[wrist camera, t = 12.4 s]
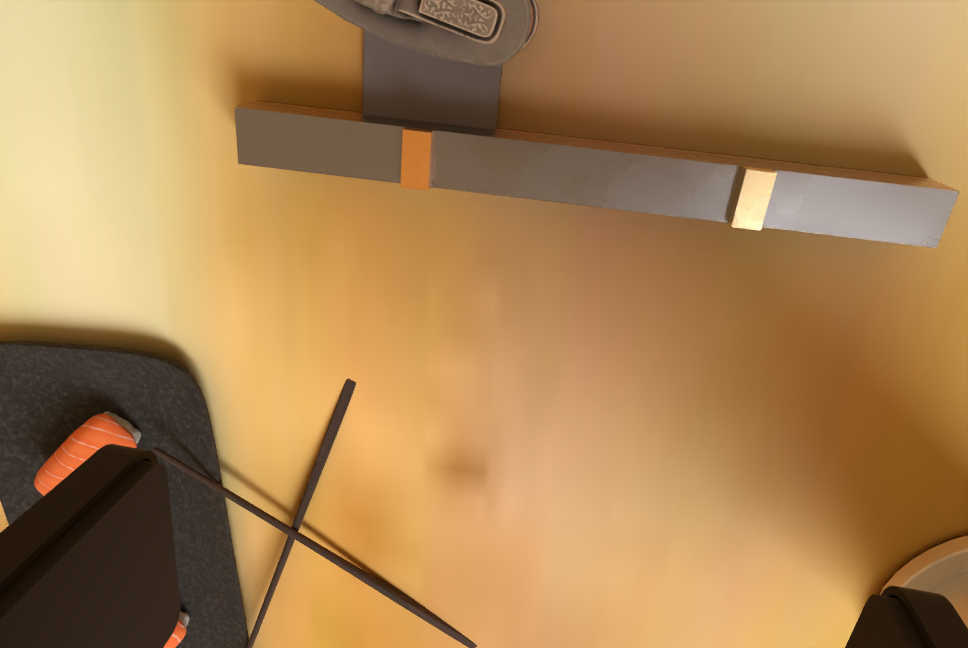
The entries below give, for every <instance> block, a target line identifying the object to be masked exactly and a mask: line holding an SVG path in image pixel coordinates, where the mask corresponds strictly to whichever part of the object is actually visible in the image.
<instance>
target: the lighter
mask: <svg viewBox="0 0 968 648" xmlns="http://www.w3.org/2000/svg"><path fill="white" fill-rule="evenodd" d="M314 1H316V2H317V3H319V4H321V5H322V6H324V7H325V8H327V9H328V10H330V11H332V12H333V13H335V14H336V15H338V16H339V17H341V18H343V19H344V20H346V21H348V22H350V23H352V24H354V25H356V26H358V27H360V28H362V29H364V30H366V31H369V32H371V33H373V34H375V35H377V36H379V37H381V38H383V39H385V40H387V41H389V42H391V43H394V44H397V45H401V46H404V47H407V48H410V49H413V50H417V51H420V52H423V53H426V54H430V55H433V56H436V57H439V58H444V59H450V60H456V61H461V62H467V63H473V64H479V65H484V66H496V65H501V64H503V63H505V62H507V61H509V60H511V59H512V58H513V57H514V56H515V55H516V54H517V53H518V52H519V51H520V50H522V49H523V48H524V47H525V46H526V45H527V44H528V43H529V42H530V41H531V39H532V37H533V35H534V33H535V32H536V29H537V24H538V19H539V16H538V6H537V4H536V1H535V0H314Z"/></svg>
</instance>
